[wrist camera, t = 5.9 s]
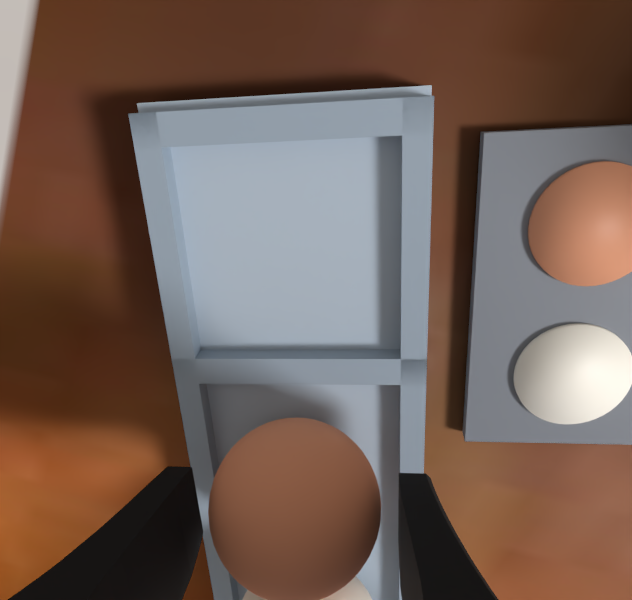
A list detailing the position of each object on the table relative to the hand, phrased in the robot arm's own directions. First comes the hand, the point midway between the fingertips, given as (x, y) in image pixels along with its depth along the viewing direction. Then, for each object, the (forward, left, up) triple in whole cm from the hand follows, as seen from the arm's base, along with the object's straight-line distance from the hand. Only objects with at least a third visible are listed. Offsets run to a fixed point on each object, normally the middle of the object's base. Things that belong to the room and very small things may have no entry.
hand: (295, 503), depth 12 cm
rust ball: (0, 0, -2) cm, 2 cm away
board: (0, +1, -3) cm, 3 cm away
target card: (-7, -4, -3) cm, 8 cm away
